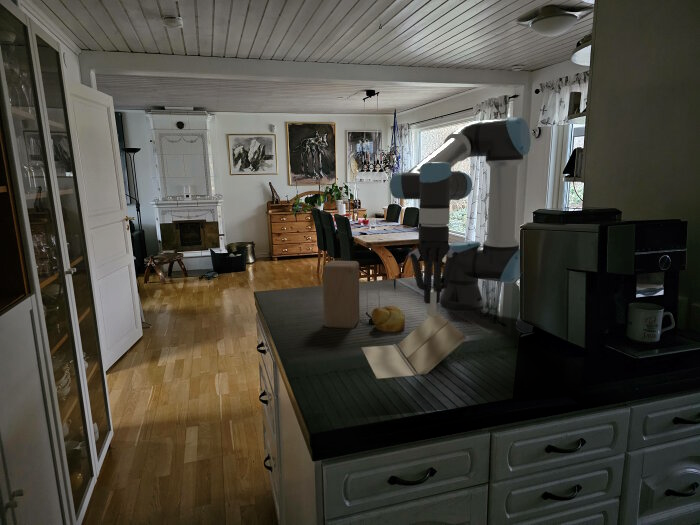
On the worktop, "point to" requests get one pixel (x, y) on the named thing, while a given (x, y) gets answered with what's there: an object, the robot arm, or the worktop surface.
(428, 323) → the far plank
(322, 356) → the worktop surface
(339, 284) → the wooden block
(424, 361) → the near plank
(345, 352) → the worktop surface
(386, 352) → the laid board
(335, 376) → the worktop surface
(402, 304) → the worktop surface
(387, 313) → the bread roll
